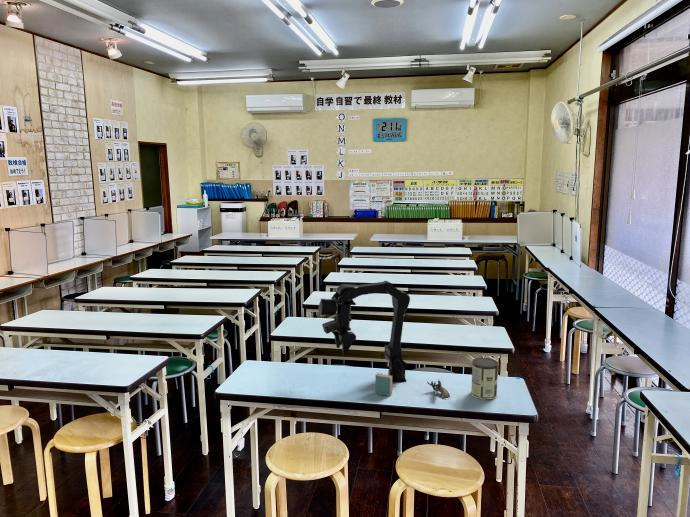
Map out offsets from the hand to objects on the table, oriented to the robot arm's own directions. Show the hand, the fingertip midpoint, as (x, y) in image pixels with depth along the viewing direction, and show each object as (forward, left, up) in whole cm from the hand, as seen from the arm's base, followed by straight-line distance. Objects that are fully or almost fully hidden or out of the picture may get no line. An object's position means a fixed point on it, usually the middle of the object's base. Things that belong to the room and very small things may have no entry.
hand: (341, 351), depth 214 cm
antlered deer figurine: (-38, +16, -16) cm, 44 cm away
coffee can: (-56, +20, -16) cm, 61 cm away
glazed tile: (-16, +11, -16) cm, 25 cm away
